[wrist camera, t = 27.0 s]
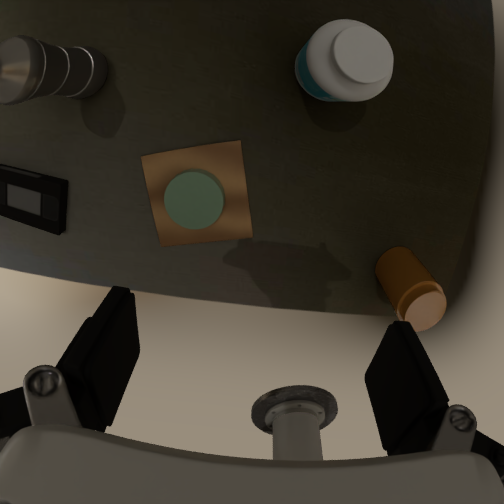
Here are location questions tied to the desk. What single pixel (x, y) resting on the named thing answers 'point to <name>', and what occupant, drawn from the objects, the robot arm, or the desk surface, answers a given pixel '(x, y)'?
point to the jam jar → (410, 288)
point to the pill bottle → (344, 62)
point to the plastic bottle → (48, 70)
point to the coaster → (221, 166)
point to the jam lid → (194, 199)
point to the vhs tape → (33, 199)
